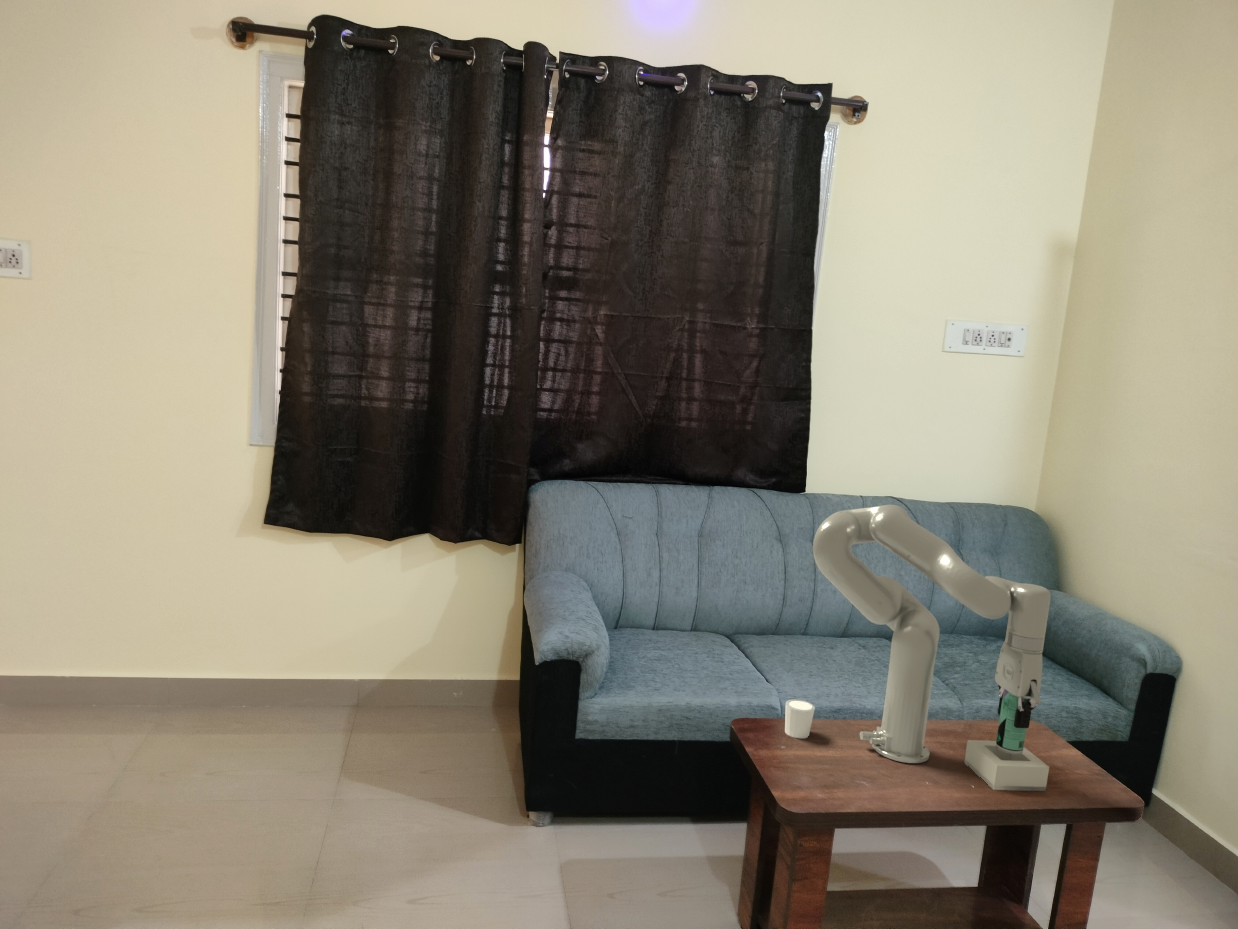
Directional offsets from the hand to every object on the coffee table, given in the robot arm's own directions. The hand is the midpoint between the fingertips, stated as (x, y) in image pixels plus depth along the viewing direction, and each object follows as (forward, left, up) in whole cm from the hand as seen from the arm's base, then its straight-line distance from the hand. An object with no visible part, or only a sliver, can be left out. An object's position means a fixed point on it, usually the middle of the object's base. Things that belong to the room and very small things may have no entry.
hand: (1012, 720), depth 187 cm
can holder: (0, 0, -13) cm, 13 cm away
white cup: (-41, +19, -13) cm, 47 cm away
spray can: (0, 0, -7) cm, 7 cm away
